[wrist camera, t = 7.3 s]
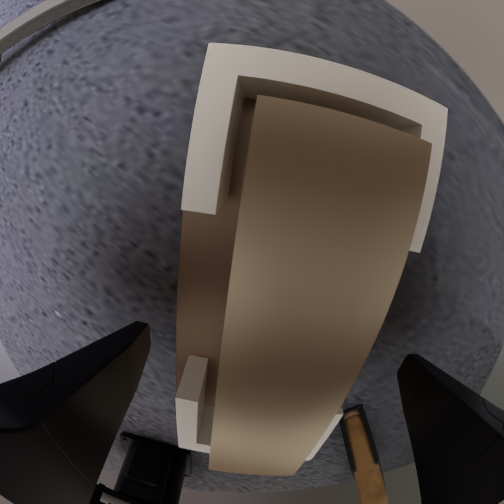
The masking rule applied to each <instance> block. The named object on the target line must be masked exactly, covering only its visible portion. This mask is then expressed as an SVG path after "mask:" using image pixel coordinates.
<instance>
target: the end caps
mask: <svg viewBox="0 0 504 504" xmlns="http://www.w3.org/2000/svg"><path fill="white" fill-rule="evenodd" d="M257 95H263V96H269V97H275V98H281V99H287V100H292V101H297V102H302V103H307V104H312V105H316V106H321V107H325V108H329V109H333V110H337V111H340V112H344V113H348V114H351V115H355V116H358V117H361V118H365V119H368V120H371V121H374V122H377V123H380V124H383V125H386V126H389V127H392V128H395V129H397V130H400V131H403V132H405V133H408V134H410V135H413V136H415V137H418V138H420V139H423V140H425V141H427V142H430V143H432V149H431V156H430V163H429V169H428V175H427V180H426V185H425V190H424V195H423V200H422V204H421V208H420V213H419V217H418V221H417V224H416V228H415V232H414V236H413V239H412V243H411V246H410V249H409V251H414V252H418V253H420V251H421V248H422V245H423V241H424V238H425V234H426V231H427V227H428V224H429V220H430V216H431V212H432V208H433V204H434V199H435V195H436V190H437V185H438V180H439V175H440V170H441V164H442V157H443V151H444V143H445V135H446V125H447V114H448V108H446V107H444V106H442V105H441V104H439V103H437V102H435V101H433V100H431V99H429V98H427V97H425V96H423V95H421V94H419V93H417V92H414V91H412V90H410V89H408V88H405V87H403V86H401V85H398V84H396V83H394V82H391V81H389V80H386V79H384V78H381V77H378V76H376V75H373V74H370V73H367V72H364V71H361V70H358V69H355V68H352V67H349V66H346V65H342V64H339V63H335V62H332V61H328V60H324V59H320V58H316V57H312V56H307V55H303V54H298V53H293V52H288V51H282V50H276V49H270V48H263V47H255V46H247V45H236V44H223V43H209V44H208V48H207V53H206V57H205V61H204V66H203V70H202V75H201V80H200V85H199V90H198V95H197V100H196V105H195V111H194V117H193V123H192V129H191V135H190V141H189V148H188V155H187V162H186V169H185V177H184V186H183V194H182V204H181V210H186V211H193V212H200V213H207V214H214V215H215V214H216V213H217V212H218V211H219V209H220V208H221V207H222V205H223V204H224V203H225V202H226V200H227V199H228V193H229V186H230V180H231V173H232V167H233V160H234V154H235V148H236V142H237V136H238V130H239V124H240V119H241V113H242V107H243V102H244V98H250V99H257ZM207 367H208V358H203V357H197V356H192V355H189V357H188V360H187V363H186V366H185V369H184V372H183V375H182V378H181V381H180V384H179V387H178V391H177V394H176V397H175V402H176V420H177V434H178V446H179V447H180V448H185V449H189V450H194V451H200V452H205V453H210V447H211V436H212V426H213V417H214V407H215V406H212V405H207V404H204V402H205V389H206V378H207ZM342 416H343V410H342V406H341V407H340V409H339V410H338V412H337V414H336V415H335V417H334V418H333V420H332V422H331V423H330V425H329V426H328V428H327V429H326V431H325V432H324V434H323V435H322V437H321V438H320V440H319V441H318V443H317V444H316V446H315V447H314V449H313V450H312V451H311V453H310V454H309V456H308V457H307V458H306V460H311V459H312V458H313V457H314V455H315V454H316V453H317V451H318V450H319V449H320V447H321V446H322V445H323V443H324V442H325V441H326V439H327V438H328V436H329V435H330V434H331V432H332V431H333V429H334V428H335V426H336V425H337V424H338V422H339V421H340V419H341V418H342Z"/></svg>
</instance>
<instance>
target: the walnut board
mask: <svg viewBox="0 0 504 504" xmlns="http://www.w3.org/2000/svg"><path fill="white" fill-rule="evenodd" d="M256 100H257V99H250V98H244V102H243V107H242V113H241V119H240V124H239V130H238V136H237V142H236V148H235V154H234V160H233V167H232V173H231V180H230V186H229V193H228V199H227V200H226V202H225V203H224V204H223V205H222V207H221V208H220V209H219V211H218V212H217V213H216V214H215V215H214V214H207V213H200V212H193V211H186V210H183V217H182V228H181V240H180V253H179V268H178V286H177V313H176V388H177V391H178V387H179V384H180V381H181V378H182V375H183V372H184V369H185V366H186V363H187V360H188V357H189V355H192V356H197V357H203V358H208V367H207V378H206V389H205V402H204V404H207V405H212V406H215V398H216V389H217V380H218V371H219V362H220V354H221V345H222V337H223V329H224V320H225V312H226V305H227V297H228V289H229V281H230V274H231V266H232V259H233V252H234V244H235V237H236V230H237V223H238V216H239V209H240V202H241V195H242V189H243V182H244V175H245V169H246V162H247V156H248V149H249V143H250V137H251V131H252V124H253V118H254V112H255V106H256Z"/></svg>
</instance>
